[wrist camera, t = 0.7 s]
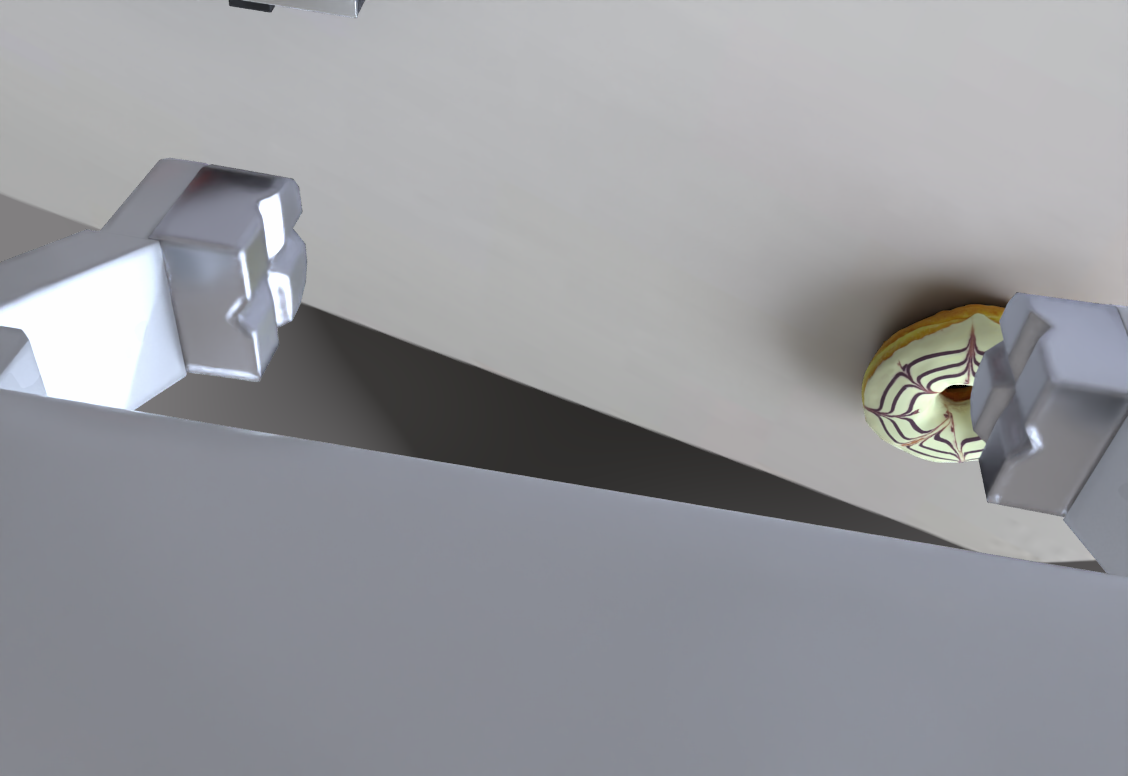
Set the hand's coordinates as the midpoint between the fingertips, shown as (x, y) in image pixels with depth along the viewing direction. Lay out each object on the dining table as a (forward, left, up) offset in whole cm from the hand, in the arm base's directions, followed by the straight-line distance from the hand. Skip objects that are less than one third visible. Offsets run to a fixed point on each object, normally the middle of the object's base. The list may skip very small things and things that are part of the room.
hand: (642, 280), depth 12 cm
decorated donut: (+35, +20, -35) cm, 53 cm away
